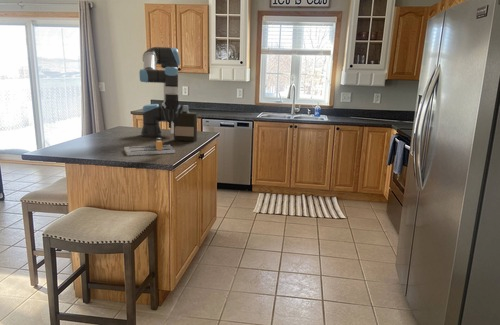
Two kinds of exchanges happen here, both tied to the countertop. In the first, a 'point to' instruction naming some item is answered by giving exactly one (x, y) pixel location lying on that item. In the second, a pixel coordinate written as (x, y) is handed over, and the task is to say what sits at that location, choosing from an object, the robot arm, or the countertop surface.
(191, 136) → the bottle
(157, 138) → the black fader
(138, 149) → the panel
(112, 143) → the countertop surface
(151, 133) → the robot arm
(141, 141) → the countertop surface
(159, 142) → the orange fader
